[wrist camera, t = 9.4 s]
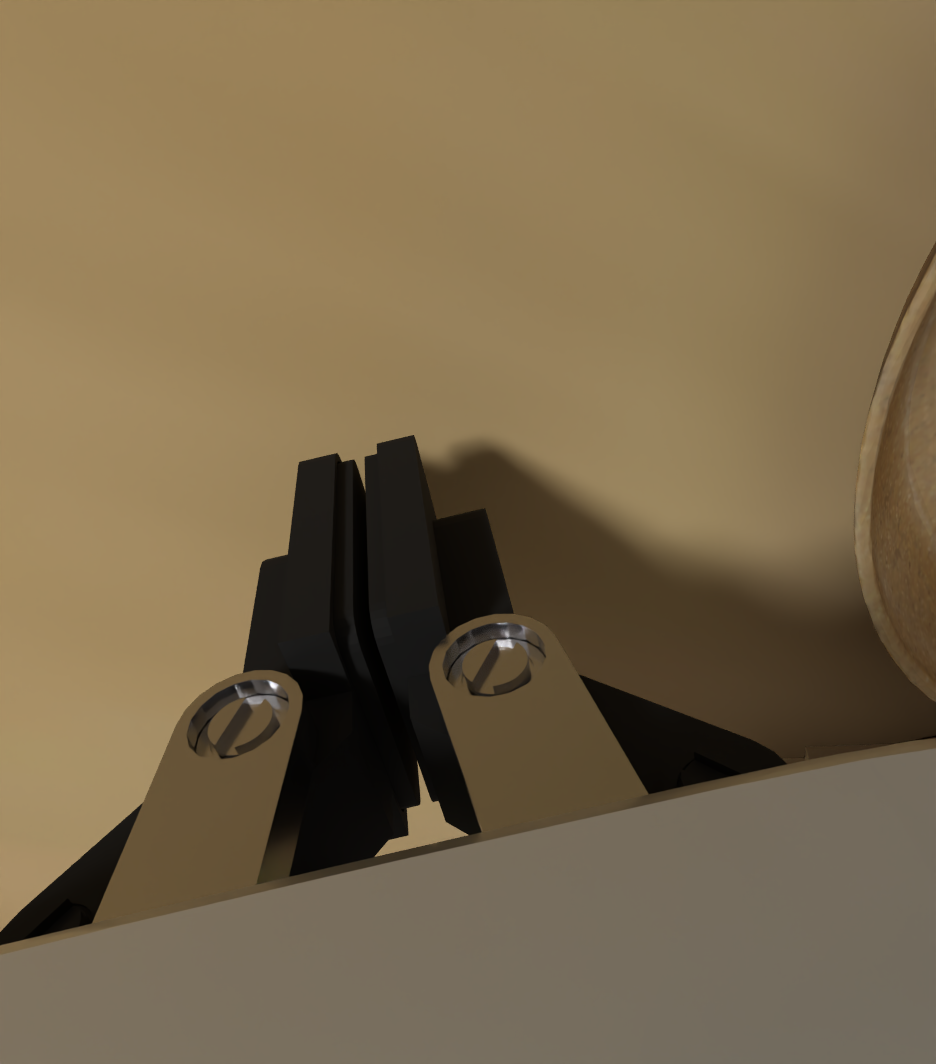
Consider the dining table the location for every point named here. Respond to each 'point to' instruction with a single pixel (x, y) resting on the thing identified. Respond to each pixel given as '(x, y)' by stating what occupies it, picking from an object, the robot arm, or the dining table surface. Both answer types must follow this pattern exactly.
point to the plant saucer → (903, 491)
